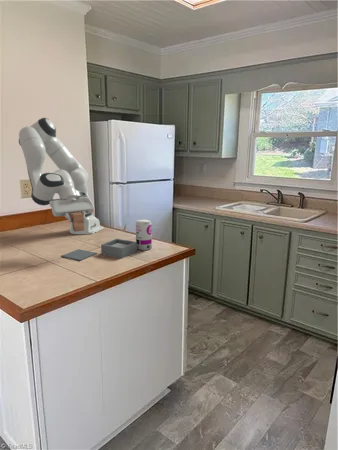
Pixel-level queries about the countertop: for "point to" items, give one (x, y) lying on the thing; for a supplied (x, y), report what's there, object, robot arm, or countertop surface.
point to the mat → (79, 254)
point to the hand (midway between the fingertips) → (77, 220)
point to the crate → (118, 248)
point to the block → (78, 221)
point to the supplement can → (143, 234)
